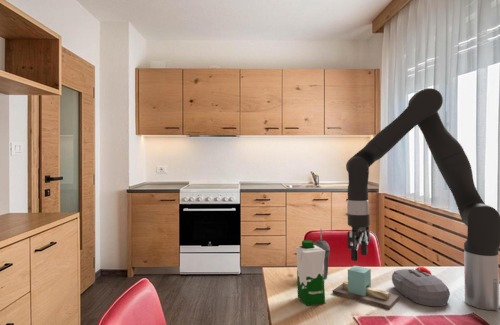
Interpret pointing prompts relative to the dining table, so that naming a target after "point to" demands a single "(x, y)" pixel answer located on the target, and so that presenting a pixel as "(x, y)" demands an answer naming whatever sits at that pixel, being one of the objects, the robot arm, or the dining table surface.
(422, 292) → the soft grey pack
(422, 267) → the cap
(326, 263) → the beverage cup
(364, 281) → the saddle block
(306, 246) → the milk carton
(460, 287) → the dining table surface
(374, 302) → the cleat board
